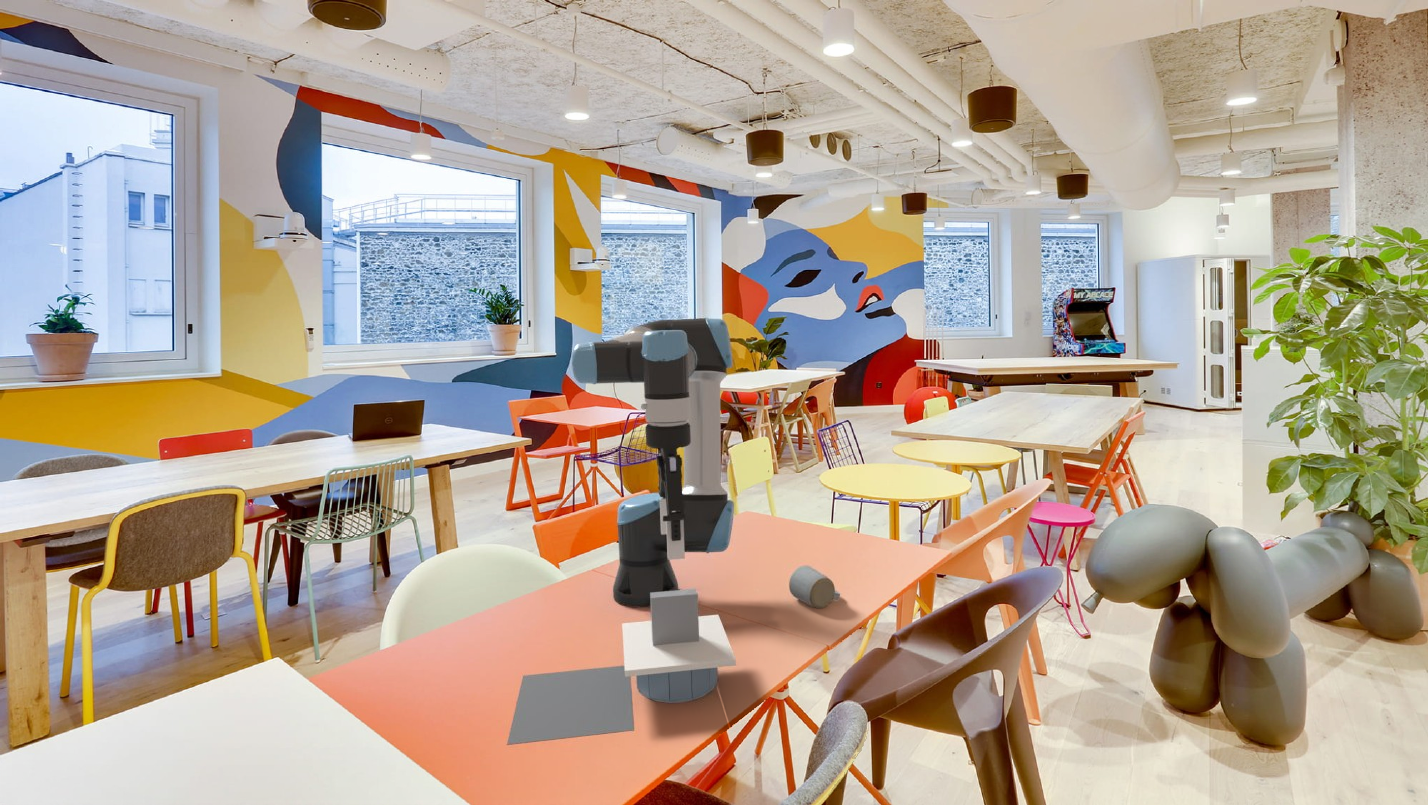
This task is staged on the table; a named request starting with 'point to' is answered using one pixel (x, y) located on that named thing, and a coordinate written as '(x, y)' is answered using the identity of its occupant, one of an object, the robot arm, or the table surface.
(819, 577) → the ceramic mug
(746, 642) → the table surface
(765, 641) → the table surface
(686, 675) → the bowl
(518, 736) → the mat
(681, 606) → the lid
